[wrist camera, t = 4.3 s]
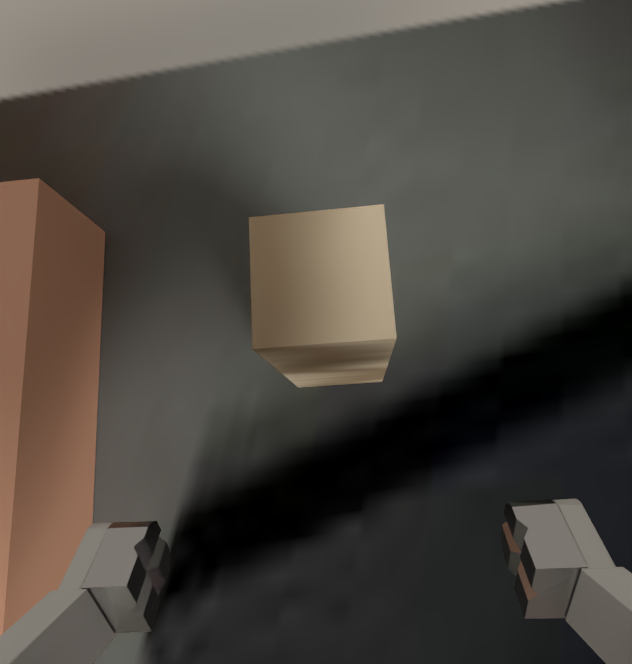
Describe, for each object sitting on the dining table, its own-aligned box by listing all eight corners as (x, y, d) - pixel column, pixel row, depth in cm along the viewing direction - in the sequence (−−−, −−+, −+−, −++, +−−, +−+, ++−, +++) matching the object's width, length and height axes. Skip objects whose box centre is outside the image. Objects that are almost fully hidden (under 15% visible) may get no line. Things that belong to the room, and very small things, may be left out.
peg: (375, 300, 24) (383, 204, 14) (382, 381, 23) (396, 338, 13) (294, 307, 24) (248, 217, 14) (298, 387, 23) (252, 349, 14)
